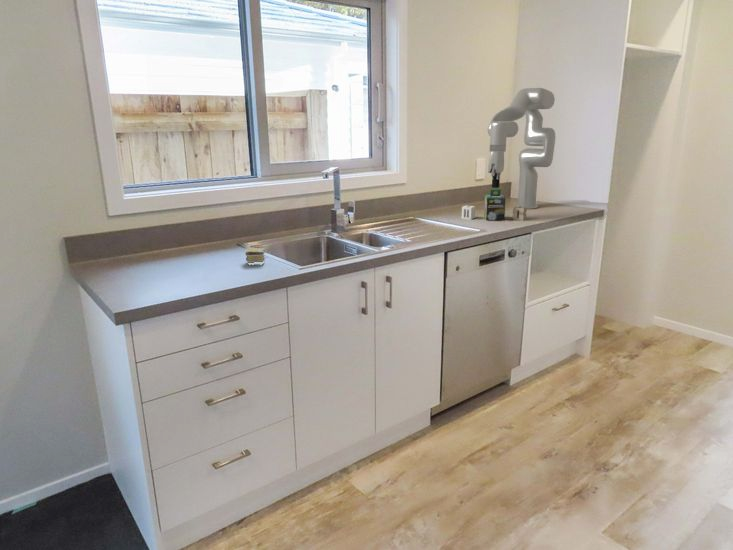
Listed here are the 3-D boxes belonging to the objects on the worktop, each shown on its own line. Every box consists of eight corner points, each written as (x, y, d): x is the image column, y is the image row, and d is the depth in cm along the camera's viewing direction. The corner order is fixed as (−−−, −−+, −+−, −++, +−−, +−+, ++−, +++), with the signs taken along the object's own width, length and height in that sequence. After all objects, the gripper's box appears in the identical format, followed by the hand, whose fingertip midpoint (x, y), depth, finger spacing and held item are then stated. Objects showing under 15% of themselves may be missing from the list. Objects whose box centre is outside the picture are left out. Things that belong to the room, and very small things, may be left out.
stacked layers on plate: (271, 261, 189) (270, 246, 188) (267, 267, 181) (265, 252, 179) (244, 261, 189) (242, 247, 188) (238, 268, 181) (237, 253, 179)
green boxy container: (502, 217, 260) (503, 187, 256) (505, 220, 252) (506, 190, 247) (483, 217, 261) (484, 187, 257) (485, 220, 252) (487, 190, 248)
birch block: (515, 218, 258) (516, 205, 256) (525, 218, 255) (526, 206, 254) (512, 219, 254) (513, 207, 252) (522, 220, 251) (523, 208, 249)
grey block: (465, 217, 263) (465, 205, 261) (474, 218, 260) (475, 206, 258) (461, 218, 259) (461, 206, 257) (470, 219, 256) (471, 207, 254)
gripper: (495, 147, 254) (493, 185, 260) (484, 149, 242) (482, 188, 248) (510, 148, 251) (508, 186, 256) (500, 149, 239) (497, 189, 244)
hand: (495, 187), depth 252 cm, fingers closed
